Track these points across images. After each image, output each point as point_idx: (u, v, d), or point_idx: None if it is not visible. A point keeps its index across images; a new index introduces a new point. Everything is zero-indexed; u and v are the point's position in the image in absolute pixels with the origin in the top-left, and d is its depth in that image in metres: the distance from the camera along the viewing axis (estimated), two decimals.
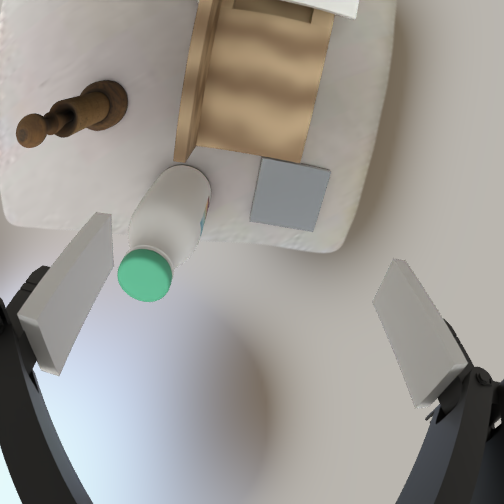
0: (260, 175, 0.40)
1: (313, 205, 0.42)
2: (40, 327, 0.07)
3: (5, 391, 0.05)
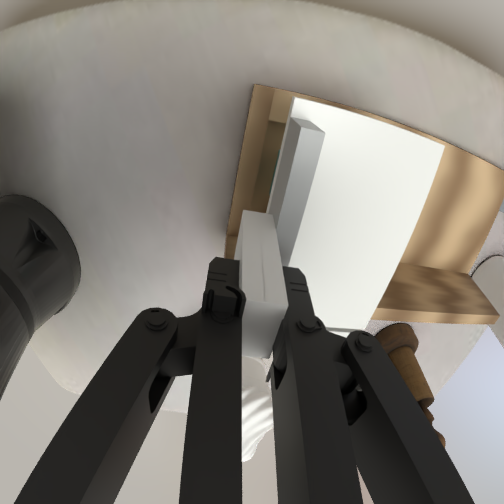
0: None
1: None
2: (263, 309, 0.10)
3: (215, 376, 0.07)
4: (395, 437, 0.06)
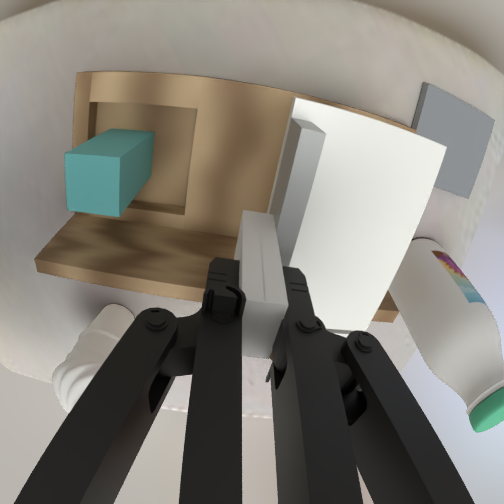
0: None
1: (466, 114, 0.22)
2: (263, 309, 0.10)
3: (215, 376, 0.07)
4: (395, 437, 0.06)
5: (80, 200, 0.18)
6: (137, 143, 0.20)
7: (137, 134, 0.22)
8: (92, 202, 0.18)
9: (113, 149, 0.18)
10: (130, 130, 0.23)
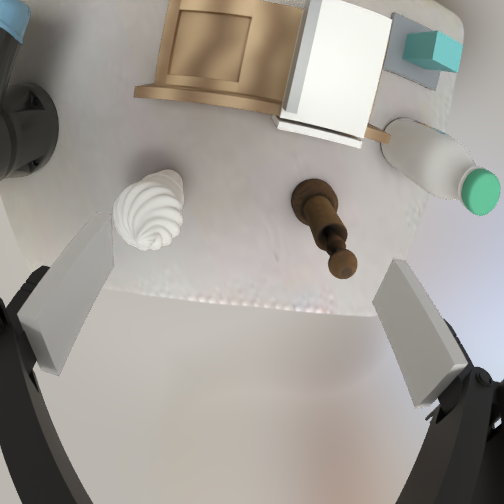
0: (398, 72, 0.34)
1: None
2: (40, 327, 0.07)
3: (5, 391, 0.05)
4: None
5: (440, 56, 0.26)
6: None
7: None
8: (446, 60, 0.26)
9: None
10: None
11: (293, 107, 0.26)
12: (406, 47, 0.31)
